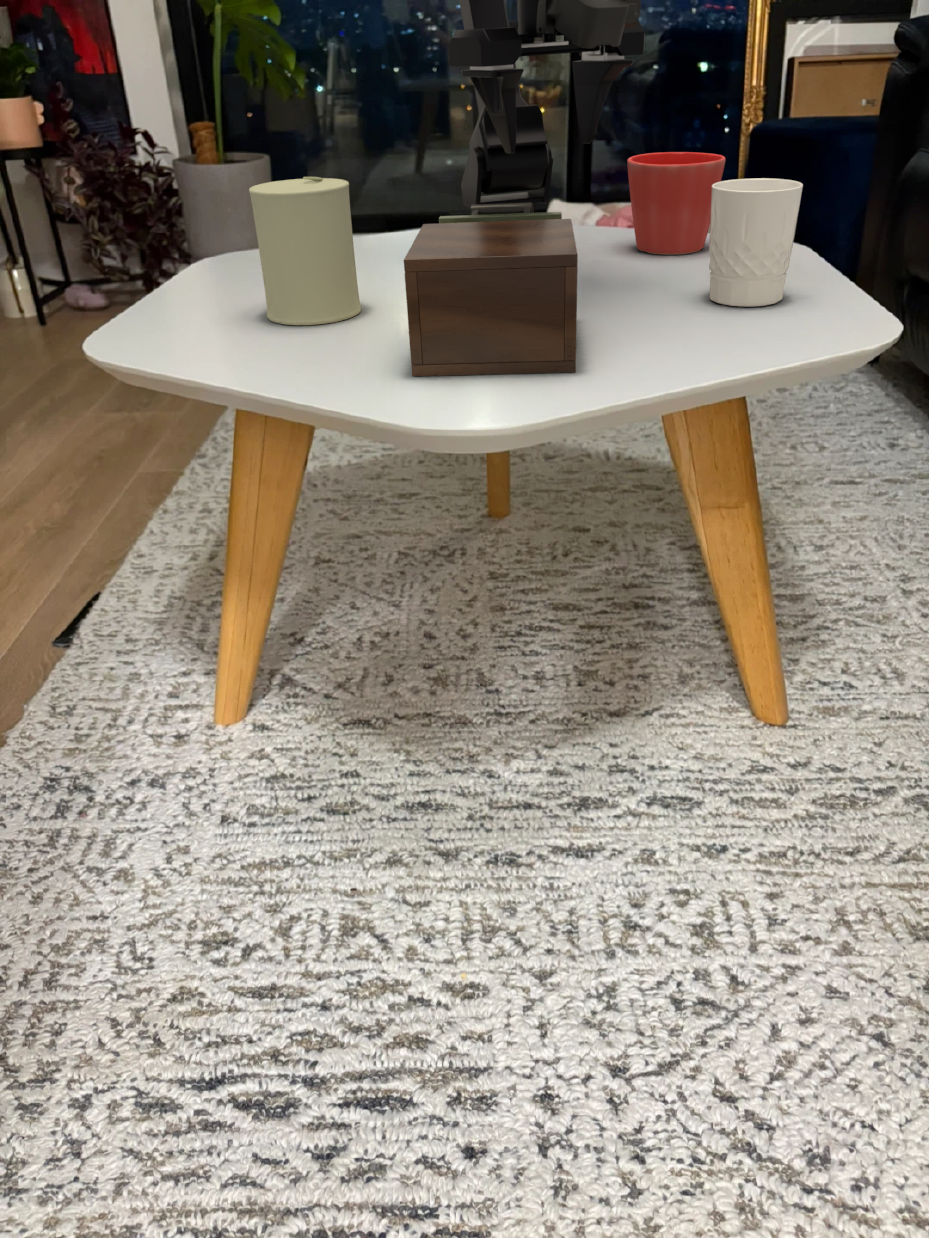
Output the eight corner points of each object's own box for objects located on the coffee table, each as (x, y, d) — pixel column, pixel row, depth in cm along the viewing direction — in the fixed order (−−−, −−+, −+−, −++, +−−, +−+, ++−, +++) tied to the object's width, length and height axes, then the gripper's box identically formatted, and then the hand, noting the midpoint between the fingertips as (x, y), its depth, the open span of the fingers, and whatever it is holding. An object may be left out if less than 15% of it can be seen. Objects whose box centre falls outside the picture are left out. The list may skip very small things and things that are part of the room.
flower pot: (737, 250, 111) (746, 157, 106) (652, 262, 108) (657, 166, 103) (687, 236, 120) (693, 148, 115) (607, 246, 117) (610, 157, 112)
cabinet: (429, 326, 89) (423, 224, 85) (569, 322, 88) (571, 218, 84) (412, 376, 77) (403, 259, 72) (575, 372, 76) (577, 253, 71)
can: (376, 303, 98) (365, 172, 91) (337, 327, 90) (321, 187, 84) (294, 299, 100) (277, 172, 94) (249, 323, 93) (228, 187, 87)
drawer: (447, 279, 101) (443, 204, 97) (559, 276, 100) (560, 200, 96) (431, 327, 85) (426, 239, 82) (564, 323, 85) (565, 235, 81)
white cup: (791, 309, 89) (807, 190, 83) (702, 309, 90) (712, 192, 85) (785, 288, 95) (799, 177, 90) (702, 288, 97) (711, 179, 91)
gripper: (518, -56, 75) (521, 166, 83) (693, -57, 84) (680, 144, 92) (440, -45, 83) (449, 156, 91) (607, -47, 92) (602, 137, 100)
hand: (548, 148), depth 93 cm, fingers open, 9 cm apart
